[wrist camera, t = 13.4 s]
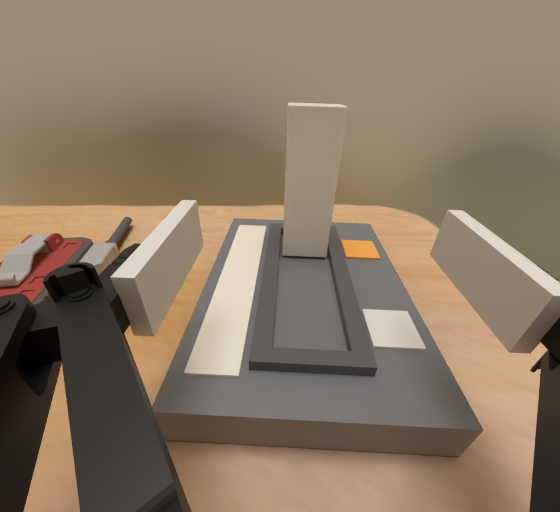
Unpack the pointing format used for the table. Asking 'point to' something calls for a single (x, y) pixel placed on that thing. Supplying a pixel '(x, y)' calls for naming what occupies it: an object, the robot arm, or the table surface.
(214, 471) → the table surface
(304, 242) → the lever
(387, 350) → the switch box
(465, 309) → the table surface
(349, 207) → the table surface
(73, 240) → the walkie-talkie
